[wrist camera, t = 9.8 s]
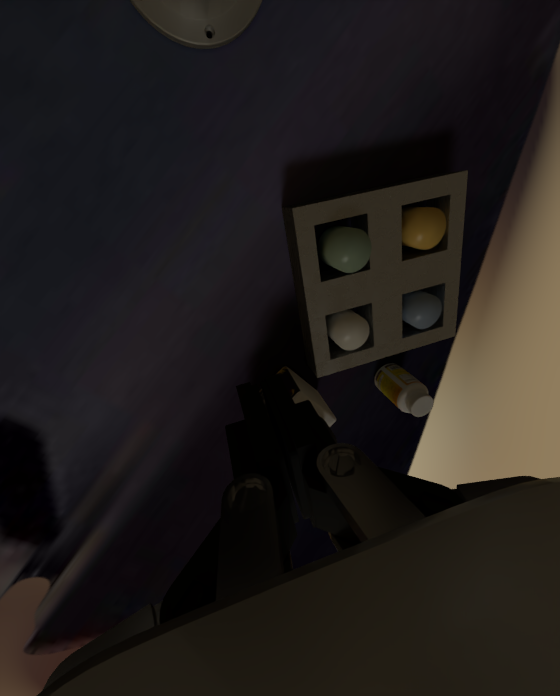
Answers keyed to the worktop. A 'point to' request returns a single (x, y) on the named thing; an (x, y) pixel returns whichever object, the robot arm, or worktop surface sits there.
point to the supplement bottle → (403, 390)
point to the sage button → (344, 248)
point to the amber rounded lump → (422, 227)
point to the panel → (377, 269)
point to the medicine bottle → (305, 396)
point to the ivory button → (347, 329)
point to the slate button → (420, 309)
